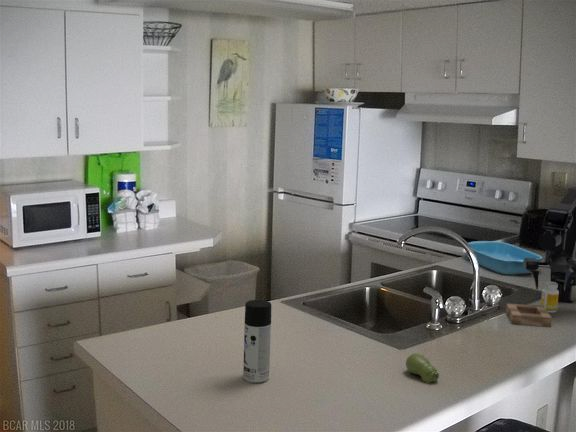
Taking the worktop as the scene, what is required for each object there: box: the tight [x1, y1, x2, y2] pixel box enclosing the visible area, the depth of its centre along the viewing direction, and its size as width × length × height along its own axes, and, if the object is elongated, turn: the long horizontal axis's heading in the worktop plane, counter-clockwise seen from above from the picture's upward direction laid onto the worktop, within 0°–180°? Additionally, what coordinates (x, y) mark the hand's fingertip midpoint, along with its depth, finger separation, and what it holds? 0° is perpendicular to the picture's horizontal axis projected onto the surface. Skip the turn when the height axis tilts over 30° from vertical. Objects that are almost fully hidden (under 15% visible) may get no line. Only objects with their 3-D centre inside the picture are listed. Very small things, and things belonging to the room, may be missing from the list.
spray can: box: [242, 299, 272, 384], centre depth 175 cm, size 7×7×20 cm
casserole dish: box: [466, 240, 543, 276], centre depth 292 cm, size 37×22×7 cm, turn 18°
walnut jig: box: [505, 302, 553, 328], centre depth 227 cm, size 12×12×3 cm
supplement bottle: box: [539, 281, 559, 314], centre depth 236 cm, size 5×5×10 cm
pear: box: [405, 353, 440, 384], centre depth 181 cm, size 6×5×10 cm
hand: (550, 289), depth 235 cm, fingers open, 9 cm apart
